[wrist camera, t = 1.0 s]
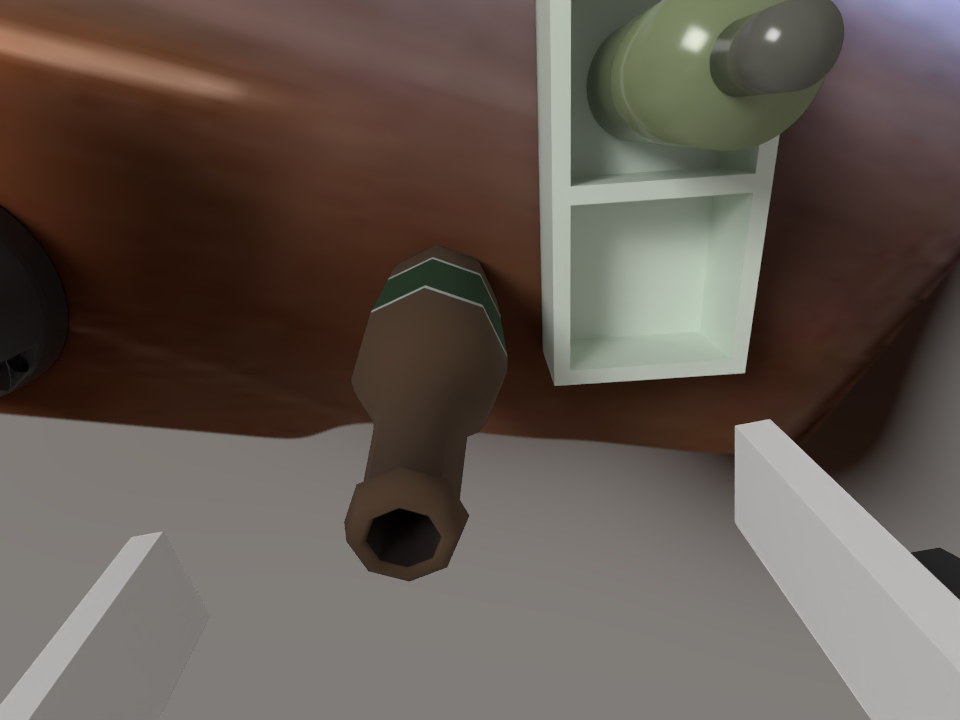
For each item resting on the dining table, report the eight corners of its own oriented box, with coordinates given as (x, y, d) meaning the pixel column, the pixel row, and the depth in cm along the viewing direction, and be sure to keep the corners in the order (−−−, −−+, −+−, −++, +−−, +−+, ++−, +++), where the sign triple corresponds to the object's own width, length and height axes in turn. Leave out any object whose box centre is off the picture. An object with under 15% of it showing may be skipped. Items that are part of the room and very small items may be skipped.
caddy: (542, 350, 39) (554, 385, 34) (534, -29, 30) (549, -62, 25) (707, 339, 39) (744, 373, 34) (750, -45, 30) (811, -81, 25)
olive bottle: (585, 145, 33) (686, 162, 18) (587, 23, 30) (706, -78, 15) (690, 137, 33) (881, 148, 18) (700, 15, 30) (933, -95, 15)
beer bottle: (520, 294, 38) (593, 533, 16) (446, 369, 40) (420, 672, 18) (434, 217, 35) (379, 370, 13) (362, 302, 38) (212, 552, 16)
